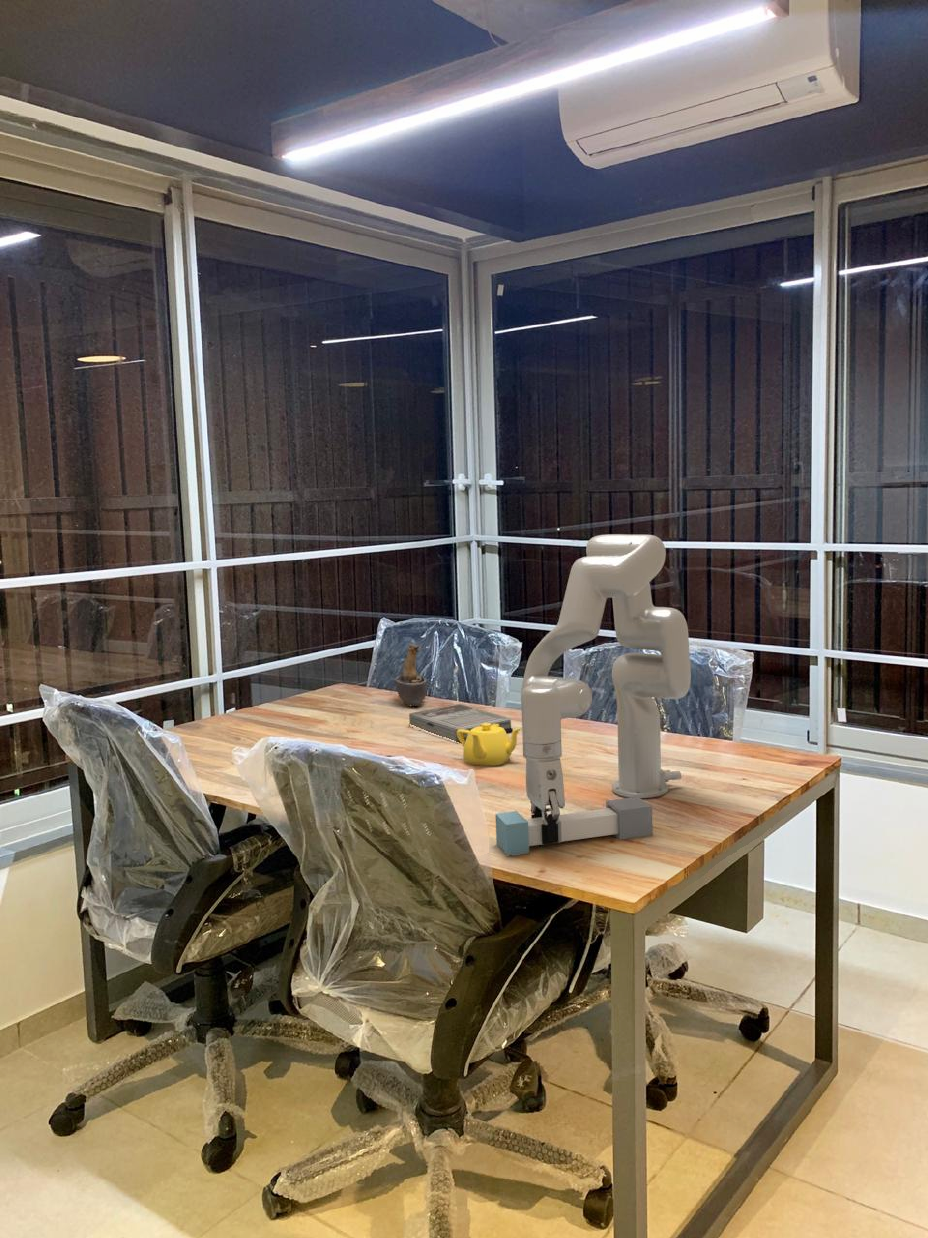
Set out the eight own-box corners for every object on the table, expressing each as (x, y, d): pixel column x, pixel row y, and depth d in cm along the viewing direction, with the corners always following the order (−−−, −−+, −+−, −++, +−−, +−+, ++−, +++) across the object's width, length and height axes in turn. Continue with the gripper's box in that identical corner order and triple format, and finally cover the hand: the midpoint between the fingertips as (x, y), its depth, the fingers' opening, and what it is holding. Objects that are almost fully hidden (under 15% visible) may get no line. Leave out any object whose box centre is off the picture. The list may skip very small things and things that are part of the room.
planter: (419, 711, 316) (416, 649, 313) (377, 707, 325) (374, 646, 322) (446, 702, 328) (443, 641, 326) (405, 697, 337) (402, 639, 335)
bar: (619, 826, 203) (618, 806, 202) (627, 833, 199) (627, 812, 198) (506, 841, 197) (505, 821, 196) (512, 849, 193) (512, 828, 192)
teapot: (473, 772, 248) (472, 733, 247) (454, 759, 260) (452, 721, 259) (524, 764, 253) (522, 726, 252) (502, 751, 265) (501, 715, 264)
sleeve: (638, 824, 205) (637, 796, 205) (652, 835, 199) (652, 806, 198) (606, 829, 204) (606, 800, 203) (620, 839, 197) (619, 810, 197)
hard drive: (459, 745, 275) (458, 730, 274) (408, 728, 297) (407, 713, 296) (512, 734, 285) (512, 718, 284) (459, 718, 307) (459, 703, 307)
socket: (517, 841, 199) (516, 811, 198) (529, 853, 192) (528, 822, 191) (496, 844, 198) (495, 813, 197) (507, 856, 191) (506, 825, 190)
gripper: (576, 757, 187) (579, 851, 189) (545, 736, 203) (548, 822, 206) (538, 762, 185) (541, 856, 188) (510, 740, 201) (513, 827, 204)
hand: (545, 837), depth 197 cm, fingers open, 5 cm apart
